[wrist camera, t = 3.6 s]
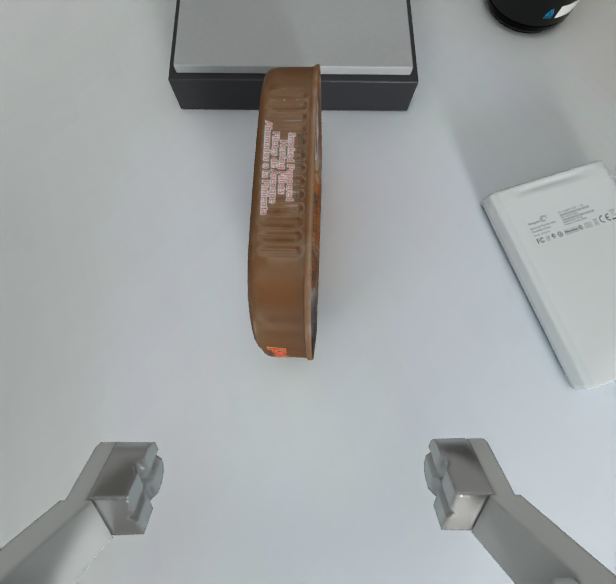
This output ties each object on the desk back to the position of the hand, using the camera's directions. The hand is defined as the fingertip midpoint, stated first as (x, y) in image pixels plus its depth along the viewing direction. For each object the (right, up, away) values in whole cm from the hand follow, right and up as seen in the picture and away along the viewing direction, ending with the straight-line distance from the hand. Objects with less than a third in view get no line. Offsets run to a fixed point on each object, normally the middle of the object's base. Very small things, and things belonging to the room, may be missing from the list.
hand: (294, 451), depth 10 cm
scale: (-1, +25, +16) cm, 30 cm away
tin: (0, +8, +12) cm, 14 cm away
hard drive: (+18, +6, +12) cm, 22 cm away
